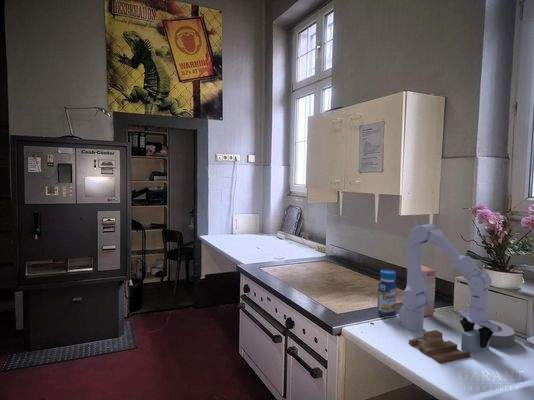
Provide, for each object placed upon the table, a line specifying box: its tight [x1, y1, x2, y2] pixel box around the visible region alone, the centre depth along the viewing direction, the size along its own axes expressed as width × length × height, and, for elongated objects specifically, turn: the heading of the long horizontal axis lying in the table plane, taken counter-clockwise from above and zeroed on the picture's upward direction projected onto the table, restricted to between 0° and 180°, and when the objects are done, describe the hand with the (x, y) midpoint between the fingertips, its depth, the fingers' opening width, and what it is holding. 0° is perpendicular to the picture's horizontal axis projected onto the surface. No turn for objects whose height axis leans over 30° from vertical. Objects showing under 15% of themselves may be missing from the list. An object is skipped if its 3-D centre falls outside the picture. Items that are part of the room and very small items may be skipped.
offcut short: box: [422, 329, 443, 342], centre depth 132 cm, size 3×6×2 cm, turn 110°
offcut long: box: [418, 338, 444, 346], centre depth 132 cm, size 3×9×2 cm, turn 110°
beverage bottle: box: [376, 269, 398, 319], centre depth 162 cm, size 8×8×20 cm
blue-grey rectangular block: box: [460, 330, 490, 354], centre depth 129 cm, size 3×10×7 cm, turn 110°
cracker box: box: [406, 264, 437, 317], centre depth 167 cm, size 14×6×21 cm, turn 9°
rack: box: [408, 336, 472, 365], centre depth 128 cm, size 15×14×2 cm
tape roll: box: [473, 319, 516, 349], centre depth 140 cm, size 15×15×5 cm
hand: (476, 343), depth 129 cm, fingers open, 5 cm apart
